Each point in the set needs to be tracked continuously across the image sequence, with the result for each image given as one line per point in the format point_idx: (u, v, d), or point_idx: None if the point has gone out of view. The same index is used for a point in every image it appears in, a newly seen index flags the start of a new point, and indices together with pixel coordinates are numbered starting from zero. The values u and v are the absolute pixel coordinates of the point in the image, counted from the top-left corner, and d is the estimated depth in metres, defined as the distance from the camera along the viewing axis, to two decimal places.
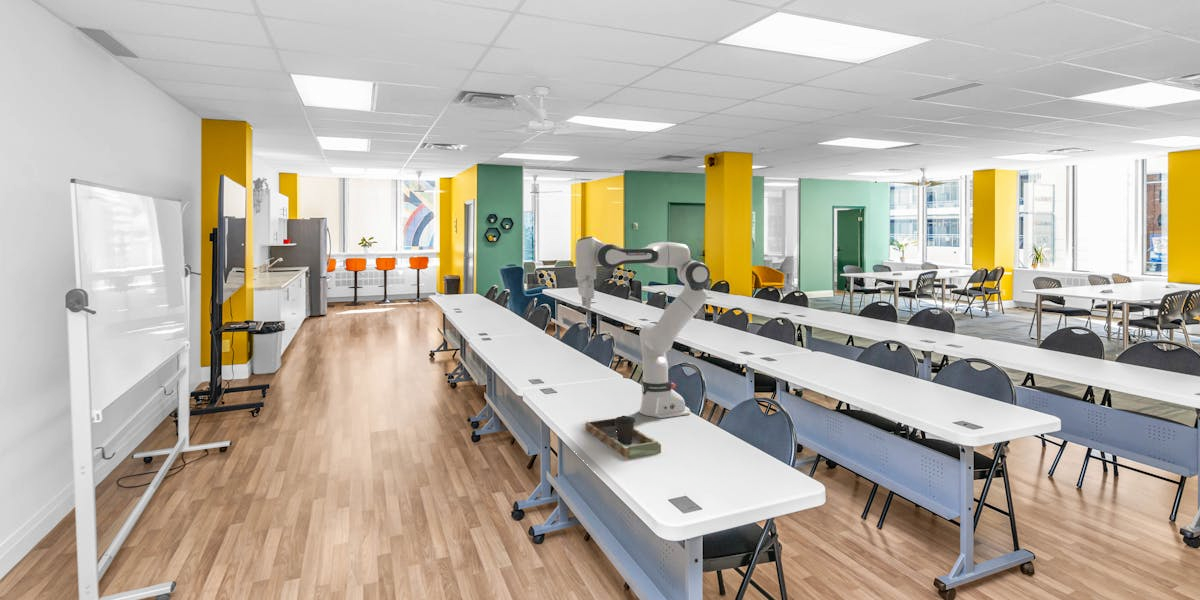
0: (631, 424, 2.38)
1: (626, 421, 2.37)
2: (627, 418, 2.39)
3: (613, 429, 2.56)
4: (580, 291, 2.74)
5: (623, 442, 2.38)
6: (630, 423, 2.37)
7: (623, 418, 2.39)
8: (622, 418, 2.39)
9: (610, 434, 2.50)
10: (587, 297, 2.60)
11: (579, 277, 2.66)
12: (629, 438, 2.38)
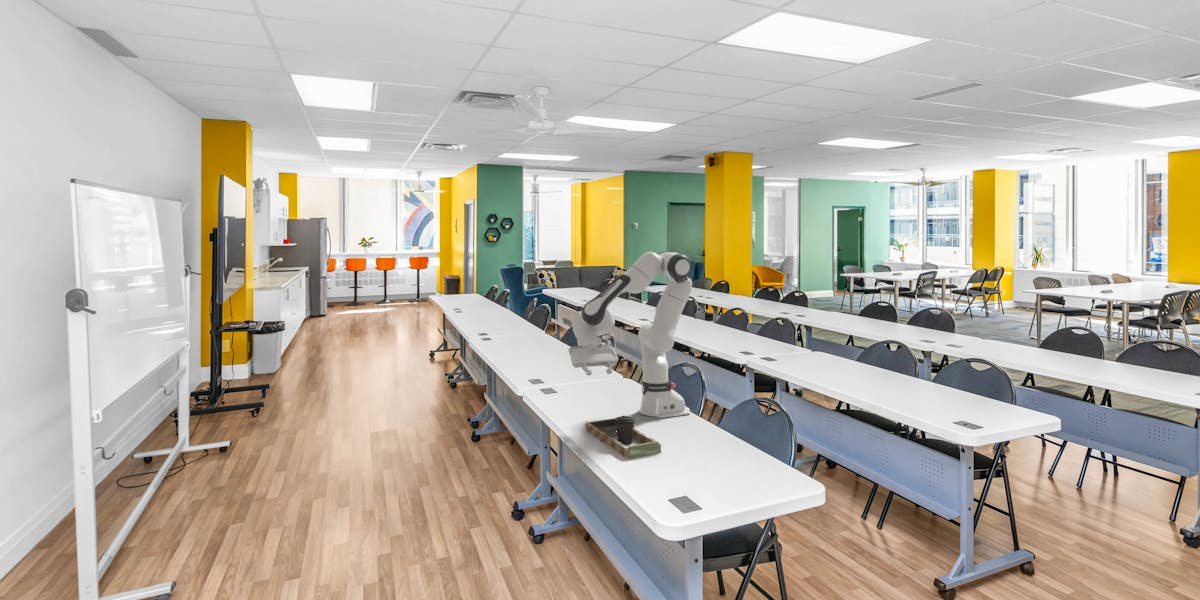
0: (631, 424, 2.38)
1: (626, 421, 2.37)
2: (627, 418, 2.39)
3: (613, 429, 2.56)
4: None
5: (623, 442, 2.38)
6: (630, 423, 2.37)
7: (623, 418, 2.39)
8: (622, 418, 2.39)
9: (610, 434, 2.50)
10: (573, 365, 2.56)
11: None
12: (629, 438, 2.38)
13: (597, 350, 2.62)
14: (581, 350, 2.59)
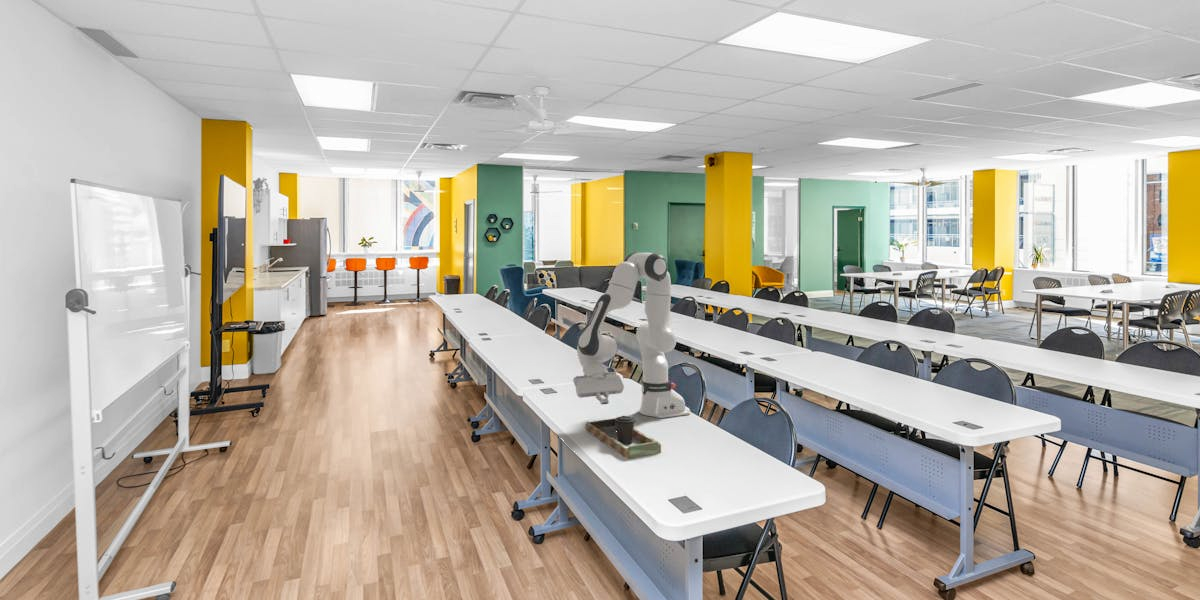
0: (631, 424, 2.38)
1: (626, 421, 2.37)
2: (627, 418, 2.39)
3: (613, 429, 2.56)
4: (608, 391, 2.61)
5: (623, 442, 2.38)
6: (630, 423, 2.37)
7: (623, 418, 2.39)
8: (622, 418, 2.39)
9: (610, 434, 2.50)
10: (578, 396, 2.54)
11: None
12: (629, 438, 2.38)
13: (602, 379, 2.59)
14: (586, 380, 2.56)
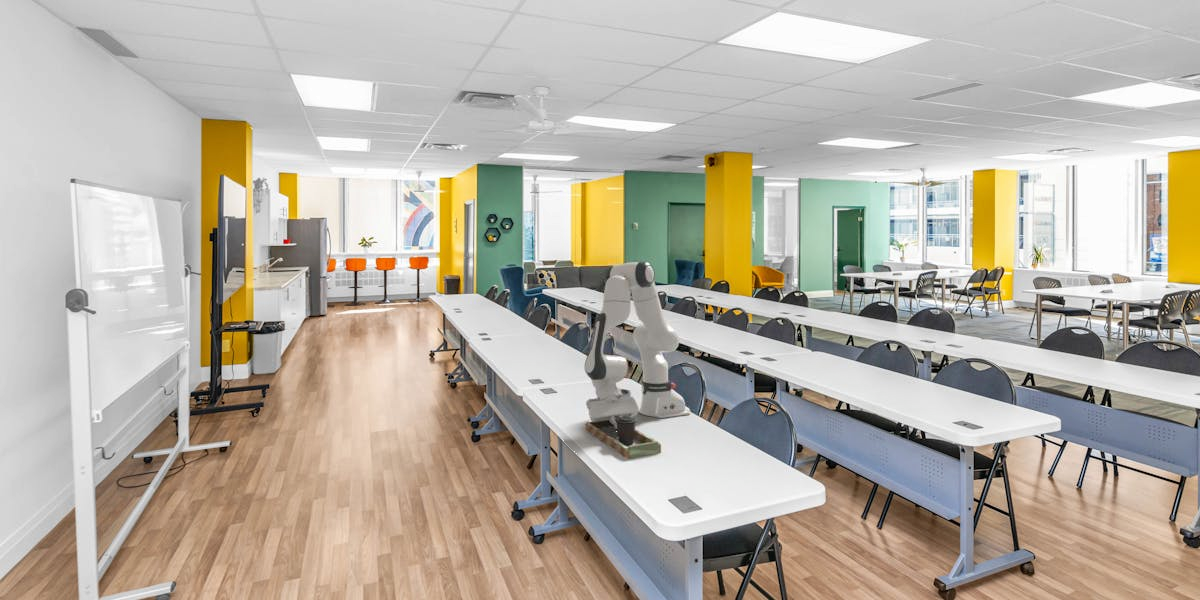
0: (632, 425, 2.37)
1: (627, 422, 2.36)
2: (628, 419, 2.38)
3: (613, 429, 2.56)
4: None
5: (624, 443, 2.38)
6: (631, 424, 2.36)
7: (624, 419, 2.38)
8: (623, 419, 2.38)
9: (610, 434, 2.50)
10: (591, 420, 2.43)
11: None
12: (630, 439, 2.38)
13: (616, 402, 2.49)
14: (599, 403, 2.46)
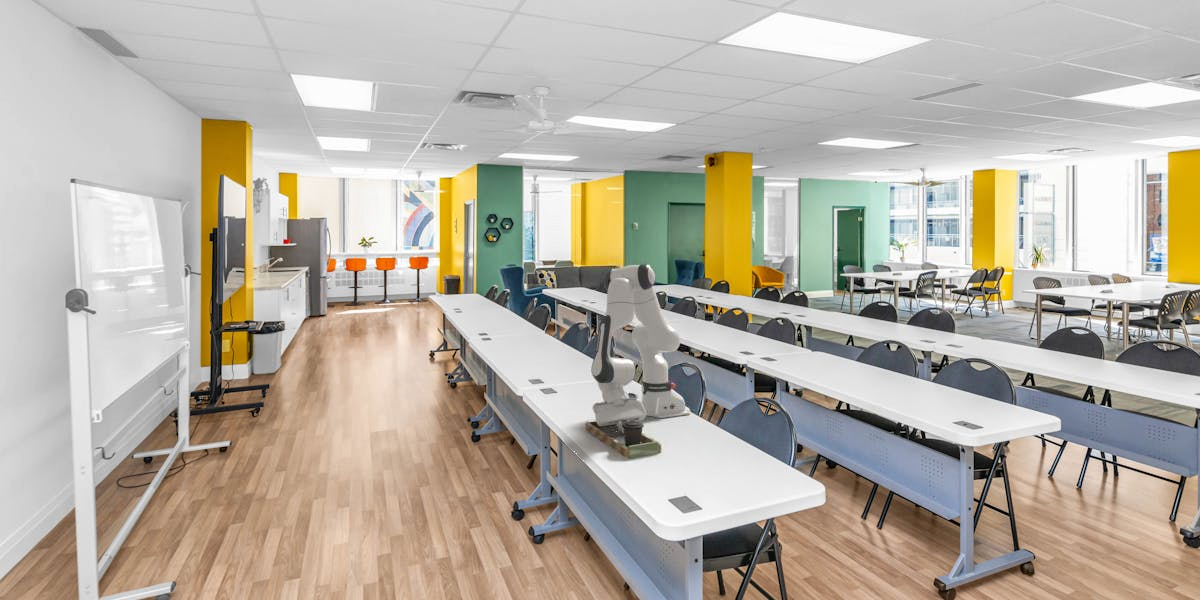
0: (639, 430, 2.31)
1: (634, 426, 2.30)
2: (635, 423, 2.33)
3: (613, 429, 2.56)
4: None
5: None
6: (638, 429, 2.31)
7: (631, 423, 2.33)
8: (630, 423, 2.33)
9: (610, 434, 2.50)
10: (598, 424, 2.38)
11: None
12: (636, 444, 2.32)
13: (624, 405, 2.43)
14: (606, 407, 2.41)
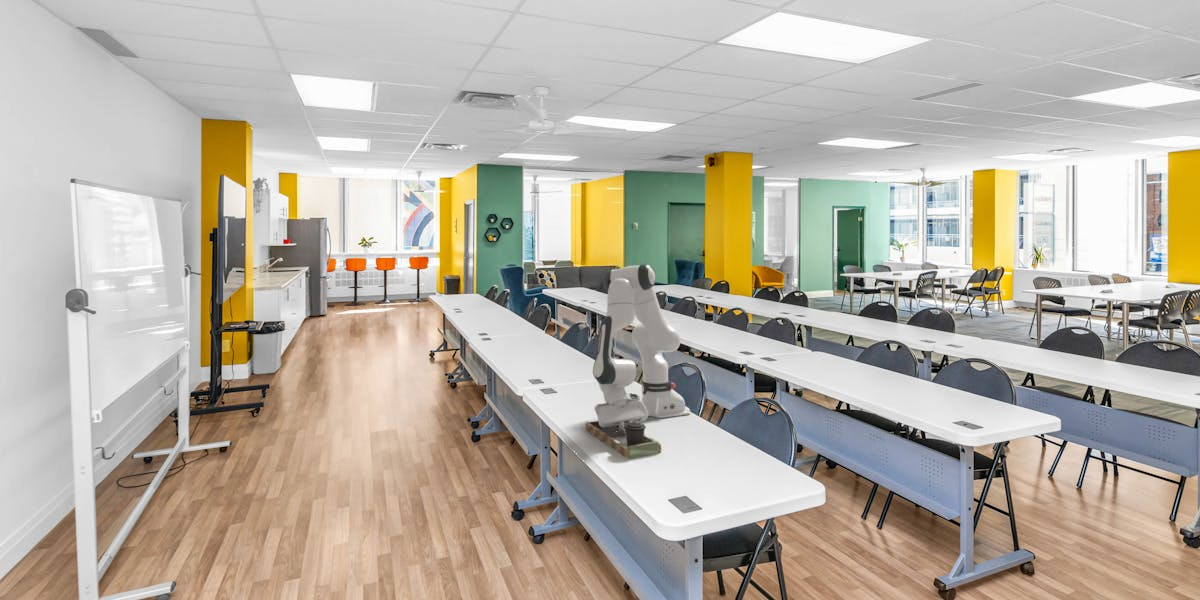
0: (640, 431, 2.29)
1: (635, 428, 2.29)
2: (637, 425, 2.31)
3: (613, 429, 2.56)
4: None
5: None
6: (639, 430, 2.29)
7: (633, 425, 2.31)
8: (632, 425, 2.31)
9: (610, 434, 2.50)
10: (600, 425, 2.37)
11: None
12: None
13: (625, 406, 2.43)
14: (608, 408, 2.40)
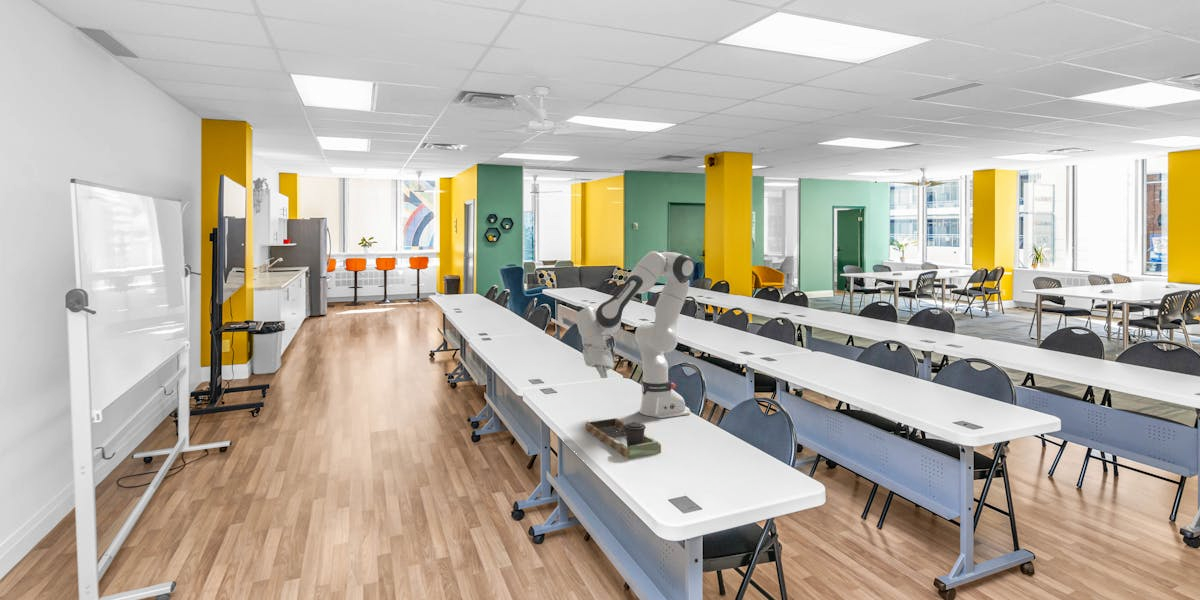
0: (640, 431, 2.29)
1: (635, 428, 2.29)
2: (637, 425, 2.31)
3: (613, 429, 2.56)
4: None
5: None
6: (639, 430, 2.29)
7: (633, 425, 2.31)
8: (632, 425, 2.31)
9: (610, 434, 2.50)
10: (587, 363, 2.46)
11: None
12: None
13: (602, 352, 2.56)
14: (594, 349, 2.50)
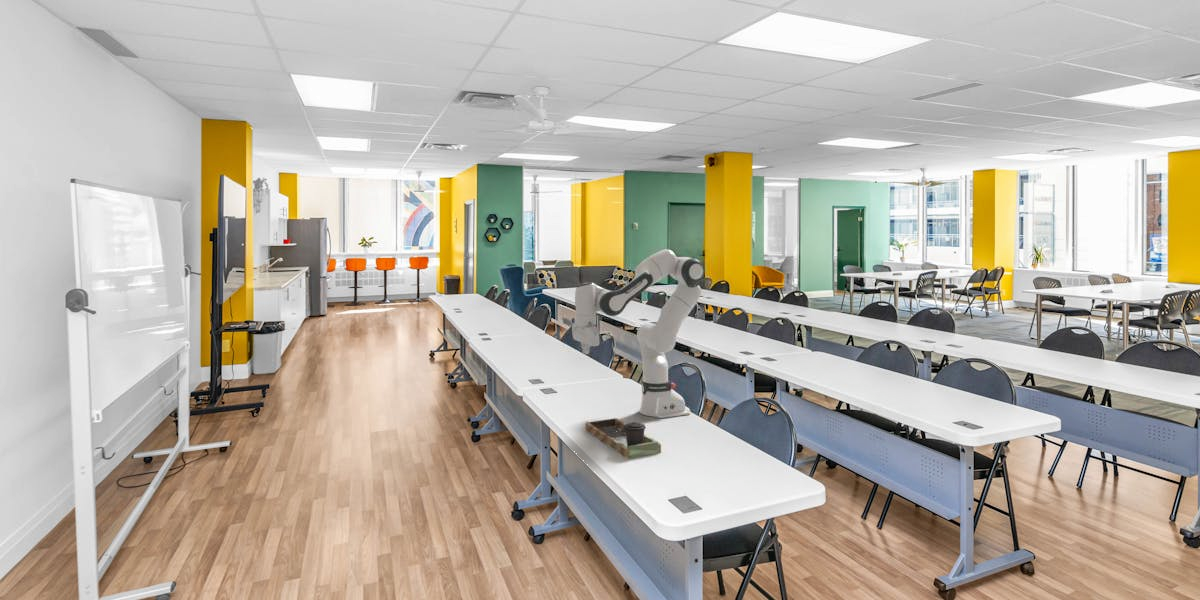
0: (640, 431, 2.29)
1: (635, 428, 2.29)
2: (637, 425, 2.31)
3: (613, 429, 2.56)
4: (577, 337, 2.69)
5: None
6: (639, 430, 2.29)
7: (633, 425, 2.31)
8: (632, 425, 2.31)
9: (610, 434, 2.50)
10: (593, 345, 2.57)
11: (581, 324, 2.61)
12: None
13: None
14: None
